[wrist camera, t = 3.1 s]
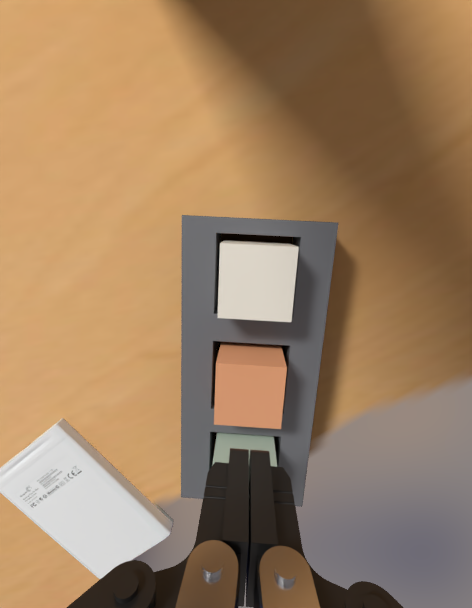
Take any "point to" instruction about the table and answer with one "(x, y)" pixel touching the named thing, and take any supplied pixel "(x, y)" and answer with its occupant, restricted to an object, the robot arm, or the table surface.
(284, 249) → the cream button
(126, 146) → the table surface
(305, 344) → the keypad
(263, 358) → the terracotta button
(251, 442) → the sage button
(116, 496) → the external hard drive
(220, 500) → the robot arm
